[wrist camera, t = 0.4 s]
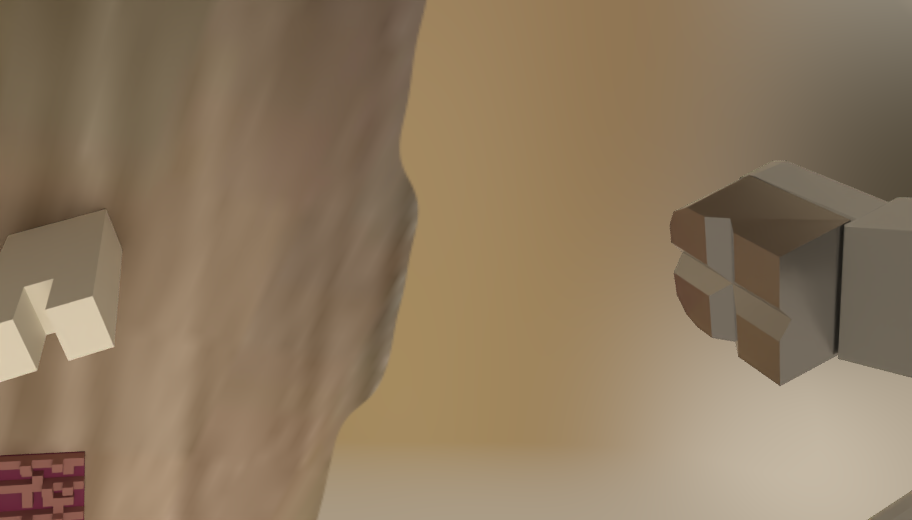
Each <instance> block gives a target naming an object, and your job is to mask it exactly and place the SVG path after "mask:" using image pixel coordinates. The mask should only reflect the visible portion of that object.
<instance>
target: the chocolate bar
mask: <svg viewBox="0 0 912 520" xmlns="http://www.w3.org/2000/svg"><path fill="white" fill-rule="evenodd" d="M84 473H85V451H84V452H64V453H44V454H23V455H3V456H0V520H84Z"/></svg>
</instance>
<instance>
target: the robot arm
mask: <svg viewBox="0 0 912 520" xmlns="http://www.w3.org/2000/svg"><path fill="white" fill-rule="evenodd" d="M670 233H671V243H673V244H674V245H675V246H676V247H677V248H678V249H680V250H681V251H682V252H683V253H682V255H681V257H680V260H679V262H678V264H677V266H676V269H675V271H674V277H675V284H676V292H677V296H678V298H679V300H680V302H681V304H682V306H683V308H684V310H685V312H686V314H687V315H688V317H689V318H690V319H691V320H692V321H693V322H694V323H695V325H696V326H697V327H698V328H700V329H701V330H702V331H704V332H705V333H706V334H708V335H709V336H710V337H712V338H716V339H722V340H729V341H735V342H736V347H737V352H738V357H740V358H741V359H743V360H744V361H745V362H747V363H748V364H750V365H751V366H752V367H754V368H755V369H757V370H758V371H759V372H761V373H762V374H764V375H765V376H767V377H768V378H769V379H771V380H772V381H774V382H775V383H776V384H778V385H779V386H781V385H783V384H785V383H787V382H789V381H790V380H792V379H794V378H796V377H798V376H800V375H802V374H803V373H805V372H807V371H809V370H811V369H812V368H815V367H816V366H818V365H820V364H822V363H824V362H825V361H828V360H829V359H831V358H833V357H835V356H837V355H838V359H841V360H845V361H849V362H853V363H857V364H861V365H864V366H868V367H872V368H876V369H880V370H884V371H888V372H892V373H896V374H899V375H903V376H907V377H912V198H904V197H898V198H896V199H894V200H892V201H890V202H887V201H884V200H882V199H879V198H877V197H874V196H872V195H870V194H867V193H865V192H862V191H860V190H857V189H855V188H852V187H850V186H847V185H845V184H842V183H840V182H837V181H835V180H833V179H830V178H828V177H825V176H823V175H820V174H818V173H815V172H813V171H810V170H808V169H805V168H803V167H800V166H798V165H796V164H793V163H791V162H788V161H771V162H769V163H768V164H765V165H764V166H762V167H760V168H758V169H756V170H754V171H752V172H750V173H748V174H746V175H744V176H742V177H740V179H739V180H737V181H735V182H733V183H731V184H729V185H727V186H725V187H723V188H721V189H719V190H717V191H715V192H713V193H711V194H709V195H707V196H705V197H702V198H700V199H698V200H697V201H694V202H692V203H690V204H689V205H686V206H684V207H682V208H680V209H678V210H676V211H674V212H673V215H672V219H671V222H670ZM868 520H912V491H910V492H909V493H907V494H906V495H904V496H903V497H902V498H900V499H898V500H897V501H895V502H894V503H892V504H891V505H889V506H888V507H886V508H885V509H883V510H882V511H880V512H879V513H877V514H876V515H874V516H873V517H871V518H869V519H868Z"/></svg>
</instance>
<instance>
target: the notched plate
mask: <svg viewBox="0 0 912 520" xmlns="http://www.w3.org/2000/svg"><path fill="white" fill-rule="evenodd" d="M121 261H122V248H121V245H120V243H119V240H118V238H117V235H116V232H115V230H114V227H113V225H112V222H111V220H110V217H109V215H108V212H107V210H106V209H104V210H100V211H96V212H93V213H89V214H85V215H81V216H78V217H74V218H70V219H67V220H63V221H59V222H56V223H52V224H48V225H44V226H41V227H37V228H33V229H30V230H26V231H22V232H19V233H15V234H11V235H8V237H7V239H6V241H5V243H4V245H3V248H2V250H1V252H0V382H2V381H5V380H8V379H11V378H15V377H18V376H21V375H24V374H28V373H31V372H34V371H37V370H38V366H39V362H40V358H41V354H42V350H43V346H44V342H45V338H46V335H48V334H51V333H56V335H57V337H58V339H59V341H60V344H61V346H62V348H63V350H64V352H65V355H66V357H67V359H68V361H70V360H73V359H76V358H79V357H83V356H86V355H89V354H92V353H96V352H99V351H102V350H105V349H109V348H112V347H114V343H115V331H116V320H117V308H118V296H119V285H120V273H121Z"/></svg>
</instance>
